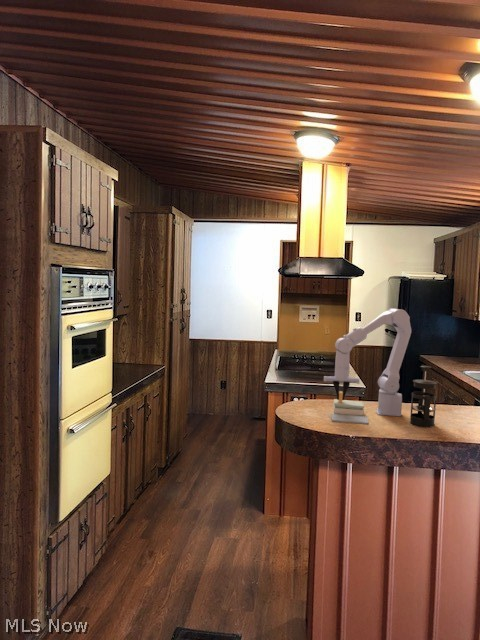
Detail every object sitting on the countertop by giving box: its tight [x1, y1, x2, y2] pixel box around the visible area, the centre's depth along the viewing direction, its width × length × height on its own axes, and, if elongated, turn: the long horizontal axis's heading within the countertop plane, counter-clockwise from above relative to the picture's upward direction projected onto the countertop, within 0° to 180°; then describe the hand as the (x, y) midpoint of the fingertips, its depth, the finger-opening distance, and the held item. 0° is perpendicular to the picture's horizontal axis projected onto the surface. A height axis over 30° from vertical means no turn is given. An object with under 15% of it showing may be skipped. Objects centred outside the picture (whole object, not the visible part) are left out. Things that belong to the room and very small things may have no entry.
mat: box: [330, 413, 370, 425], centre depth 213 cm, size 14×10×1 cm
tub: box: [332, 404, 365, 416], centre depth 223 cm, size 12×8×2 cm, turn 81°
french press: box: [409, 365, 438, 428], centre depth 209 cm, size 12×9×23 cm
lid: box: [333, 390, 365, 409], centre depth 223 cm, size 12×8×6 cm, turn 81°
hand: (340, 399), depth 224 cm, fingers closed on lid
